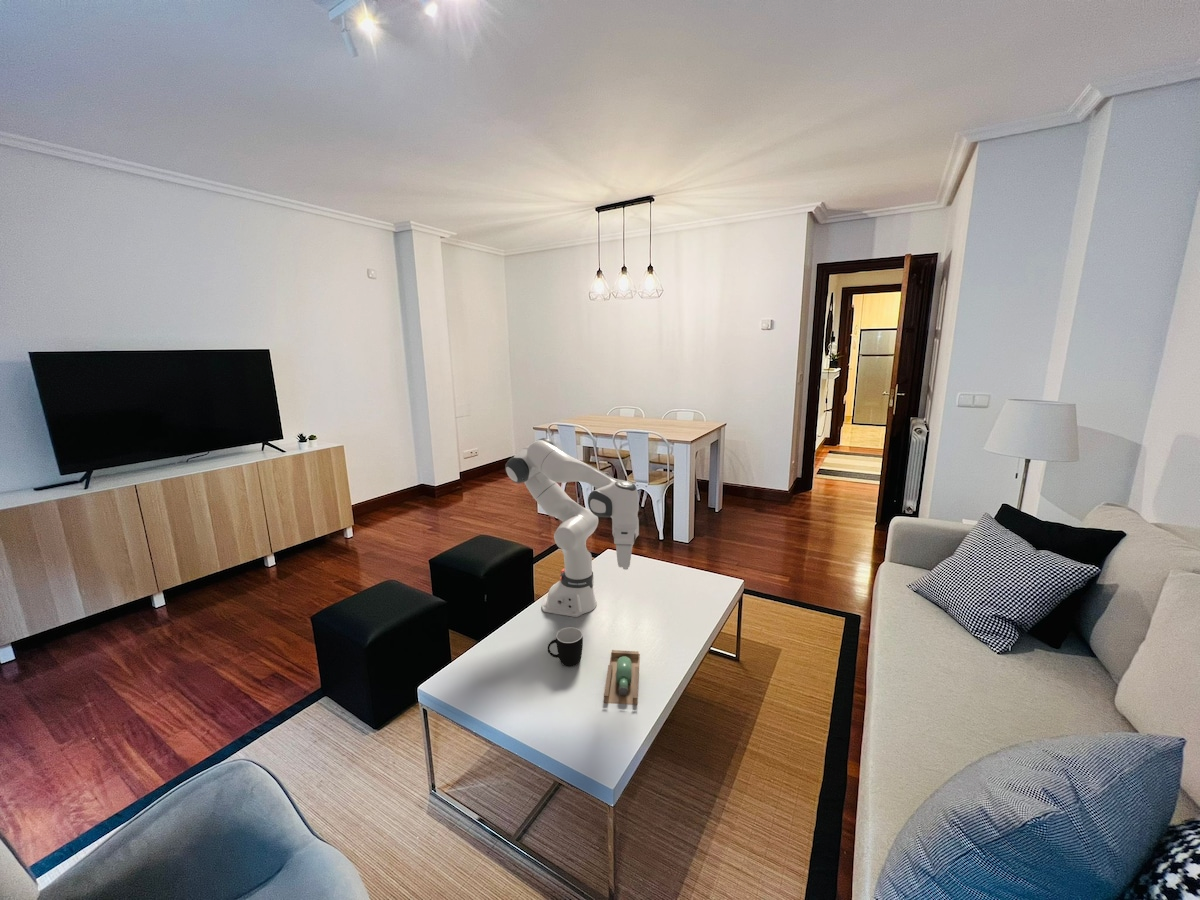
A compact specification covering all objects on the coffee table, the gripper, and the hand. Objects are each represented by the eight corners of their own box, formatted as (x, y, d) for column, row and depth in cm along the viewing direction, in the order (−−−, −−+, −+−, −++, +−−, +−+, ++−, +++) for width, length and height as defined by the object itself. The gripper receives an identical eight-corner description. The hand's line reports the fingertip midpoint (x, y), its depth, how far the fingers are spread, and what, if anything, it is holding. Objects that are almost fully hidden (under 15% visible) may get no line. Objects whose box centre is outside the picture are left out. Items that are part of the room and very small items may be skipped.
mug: (582, 651, 168) (581, 626, 166) (584, 668, 160) (583, 642, 157) (548, 654, 167) (547, 628, 165) (548, 671, 159) (546, 644, 156)
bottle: (616, 668, 159) (615, 698, 146) (617, 655, 158) (615, 685, 144) (631, 669, 159) (630, 699, 145) (631, 656, 157) (631, 686, 144)
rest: (603, 703, 144) (603, 695, 144) (611, 652, 167) (611, 646, 167) (637, 705, 143) (637, 697, 142) (639, 654, 166) (640, 647, 166)
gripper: (618, 517, 170) (618, 554, 173) (613, 541, 150) (614, 581, 153) (636, 518, 169) (636, 554, 173) (633, 542, 150) (633, 582, 153)
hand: (625, 567), depth 163 cm, fingers closed
